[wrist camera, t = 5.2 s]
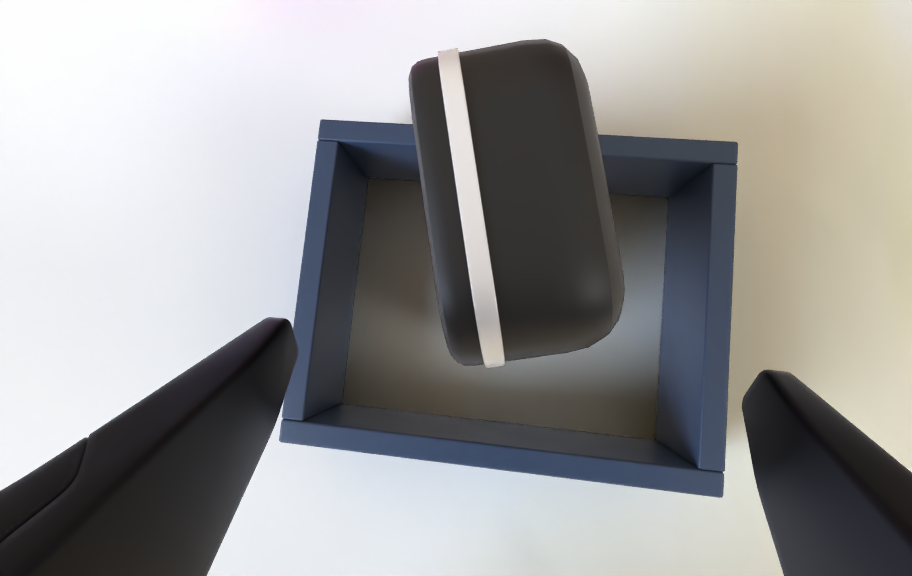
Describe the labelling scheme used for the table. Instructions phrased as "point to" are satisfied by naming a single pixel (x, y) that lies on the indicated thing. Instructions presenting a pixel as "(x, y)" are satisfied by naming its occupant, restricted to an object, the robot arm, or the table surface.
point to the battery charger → (515, 202)
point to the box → (512, 445)
